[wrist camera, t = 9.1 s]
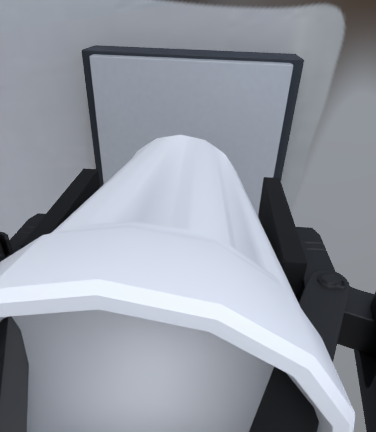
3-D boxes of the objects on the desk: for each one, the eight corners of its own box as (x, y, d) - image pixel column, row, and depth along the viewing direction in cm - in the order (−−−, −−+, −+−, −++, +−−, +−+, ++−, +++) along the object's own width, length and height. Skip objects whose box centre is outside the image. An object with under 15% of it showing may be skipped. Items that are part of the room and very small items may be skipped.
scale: (94, 45, 22) (73, 52, 19) (295, 54, 22) (309, 63, 18) (111, 214, 29) (98, 241, 26) (265, 224, 29) (271, 253, 25)
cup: (141, 274, 22) (63, 538, 11) (56, 136, 18) (-213, 353, 7) (294, 233, 20) (387, 525, 9) (241, 58, 15) (297, 206, 4)
